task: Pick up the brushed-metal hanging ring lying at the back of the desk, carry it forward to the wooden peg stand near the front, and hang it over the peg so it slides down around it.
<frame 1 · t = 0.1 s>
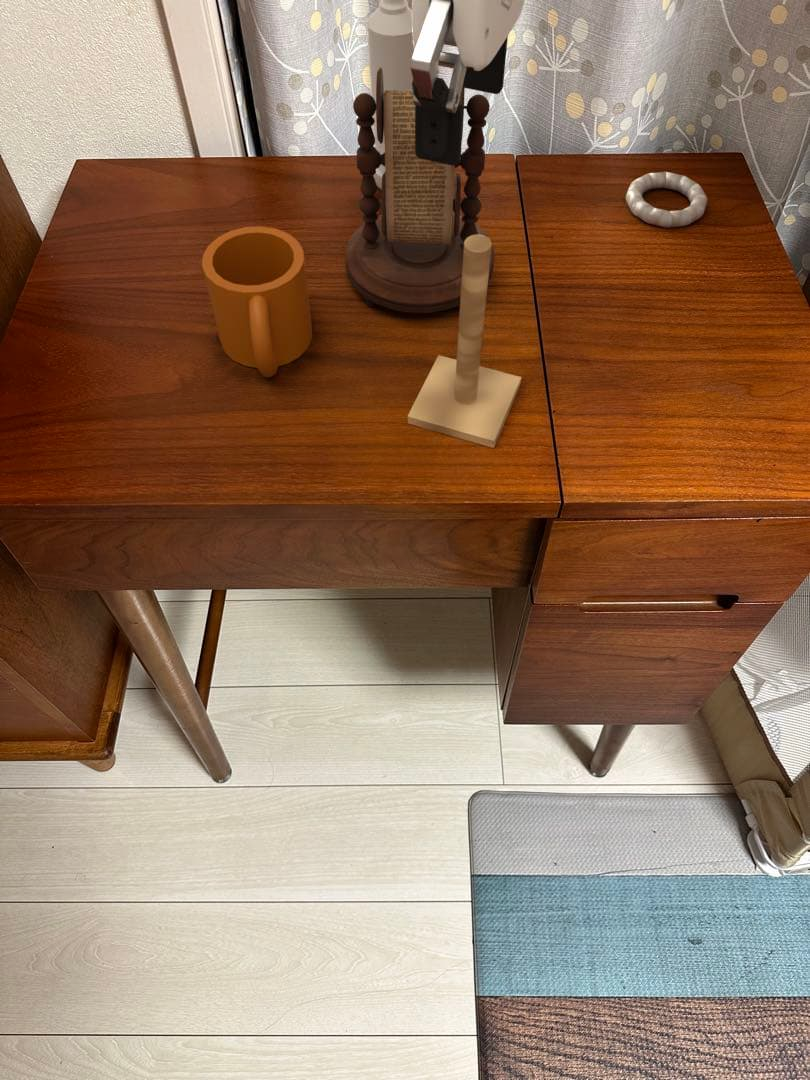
hand: (460, 123, 59), 21 cm above the table, tool pointing down, fingers open, 9 cm apart
ring: (666, 199, 87), point 1 cm above the table
bottle: (396, 182, 91), on the table
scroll: (419, 276, 82), on the table
mug: (265, 349, 77), on the table
wooden peg stand: (464, 403, 73), on the table
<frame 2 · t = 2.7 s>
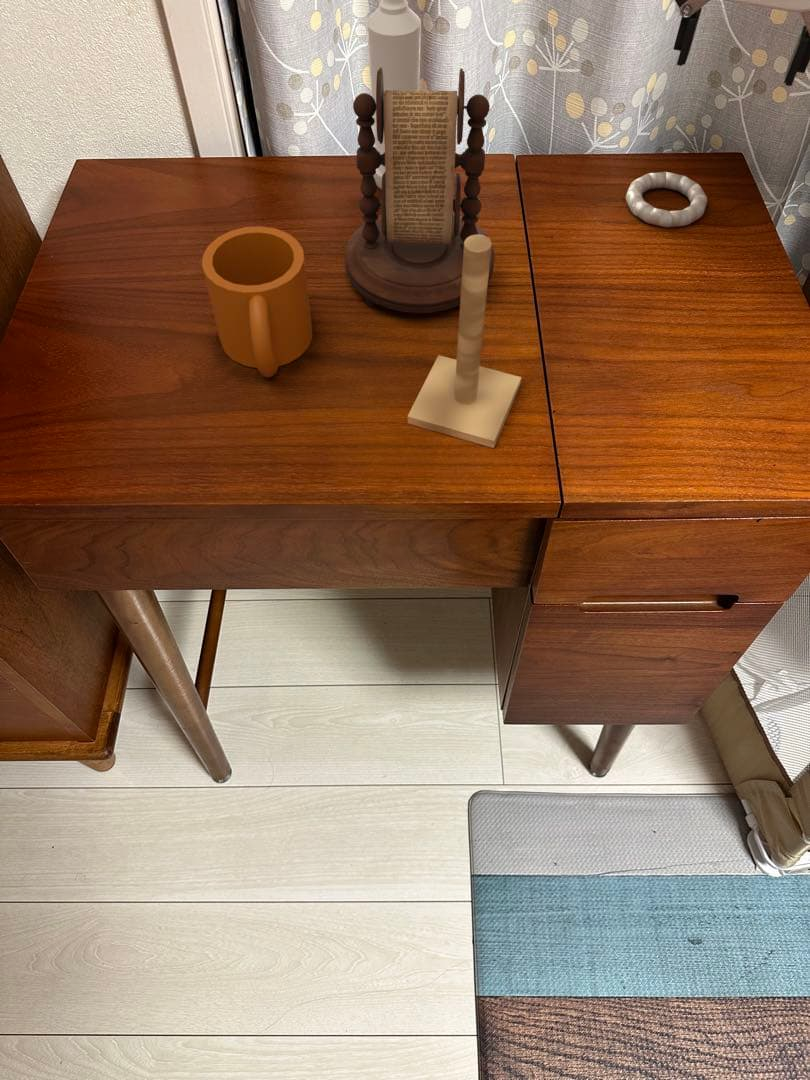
hand: (735, 68, 74), 15 cm above the table, tool pointing down, fingers open, 9 cm apart
nothing on the table moved.
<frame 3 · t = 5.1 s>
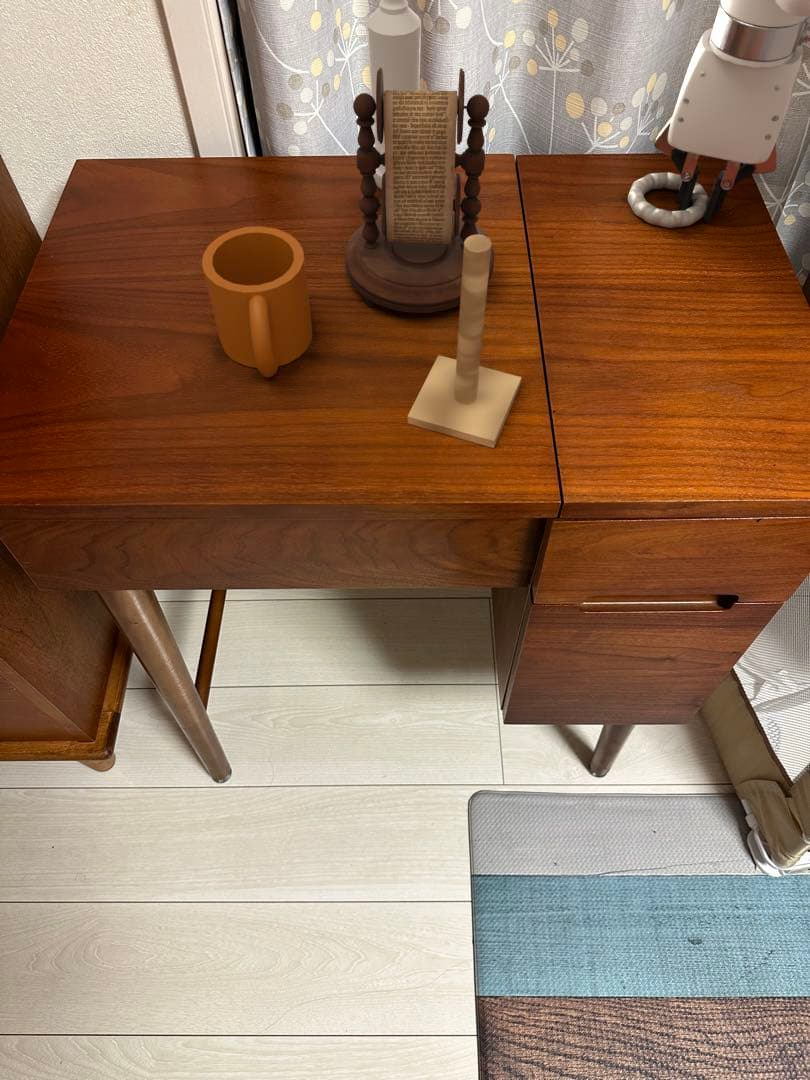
hand: (696, 211, 87), 0 cm above the table, tool pointing down, fingers closed on ring, 2 cm apart
ring: (668, 199, 87), point 1 cm above the table, touching gripper
everything else where it was.
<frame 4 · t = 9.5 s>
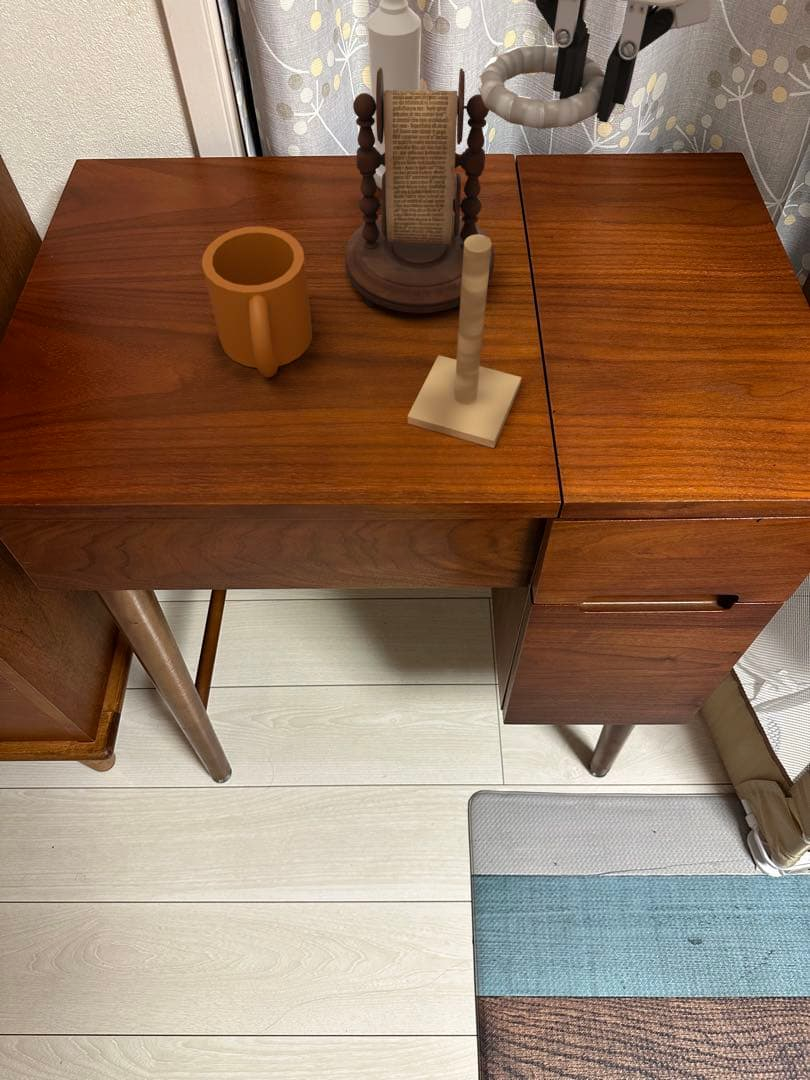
hand: (587, 105, 53), 25 cm above the table, tool pointing down, fingers closed on ring
ring: (542, 85, 54), point 26 cm above the table, touching gripper
everything else where it was.
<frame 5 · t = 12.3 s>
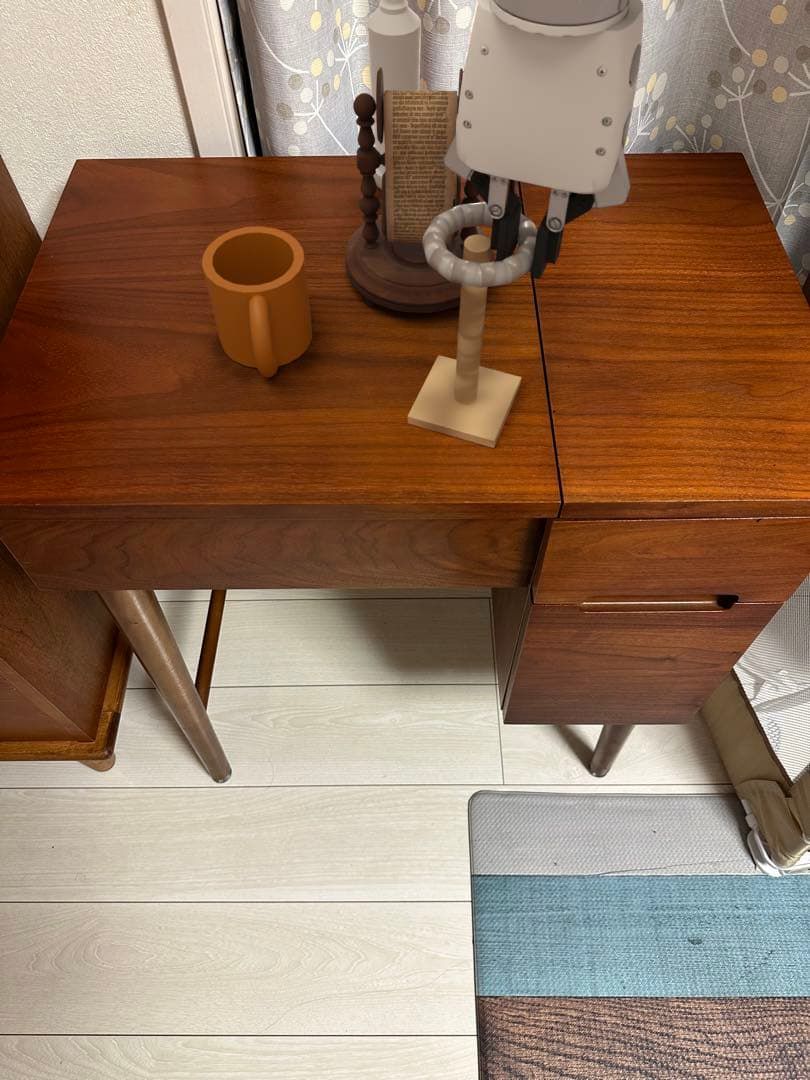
hand: (523, 260, 58), 16 cm above the table, tool pointing down, fingers closed on ring
ring: (481, 243, 58), point 17 cm above the table, touching gripper
everything else where it was.
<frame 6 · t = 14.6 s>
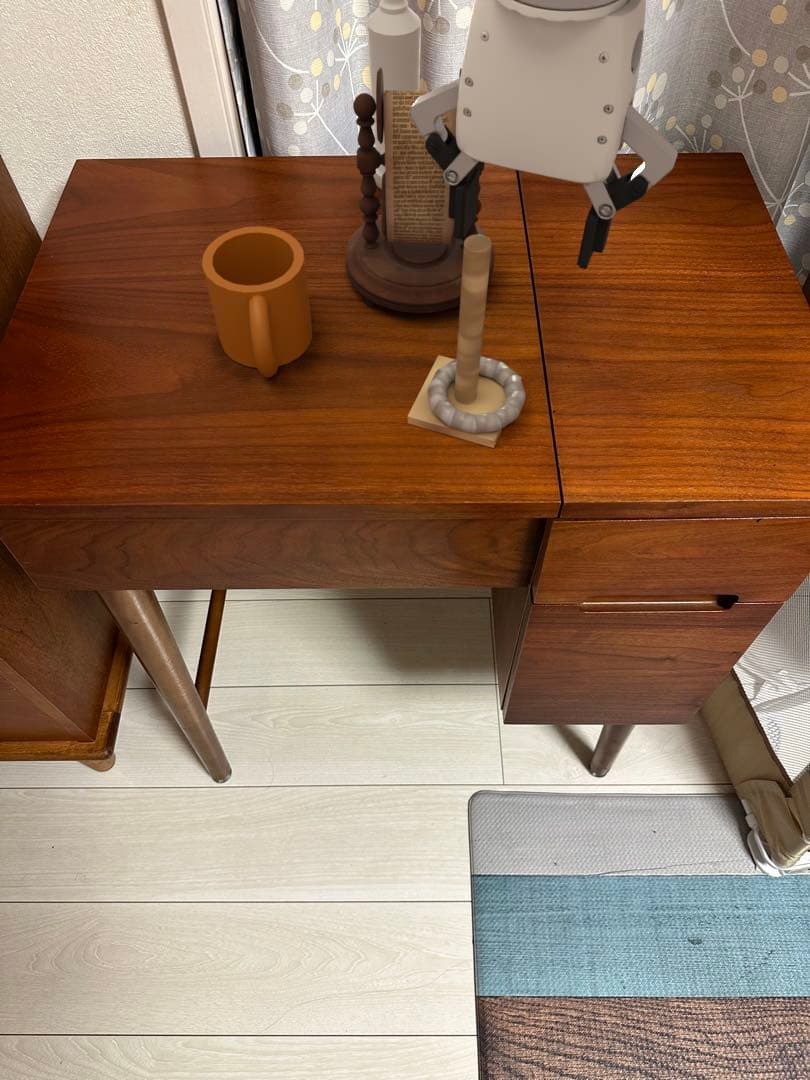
hand: (524, 240, 57), 18 cm above the table, tool pointing down, fingers open, 8 cm apart
ring: (476, 393, 71), point 2 cm above the table, touching wooden peg stand
everything else where it was.
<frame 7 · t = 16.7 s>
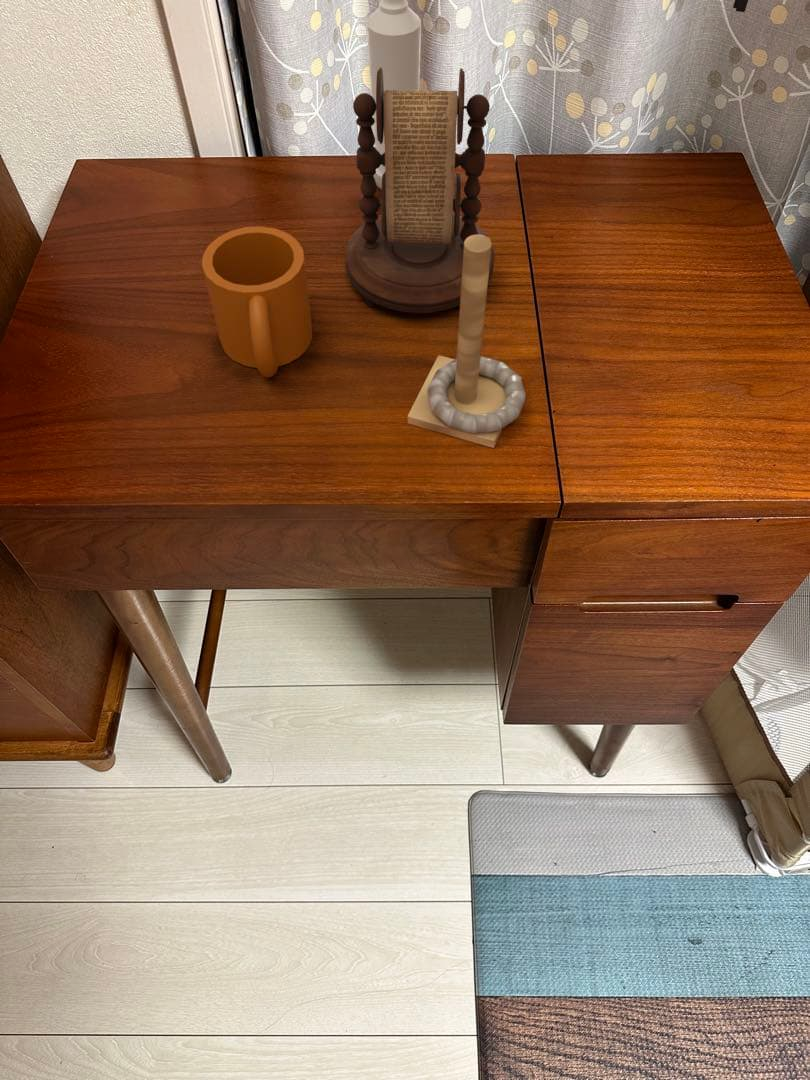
nothing on the table moved.
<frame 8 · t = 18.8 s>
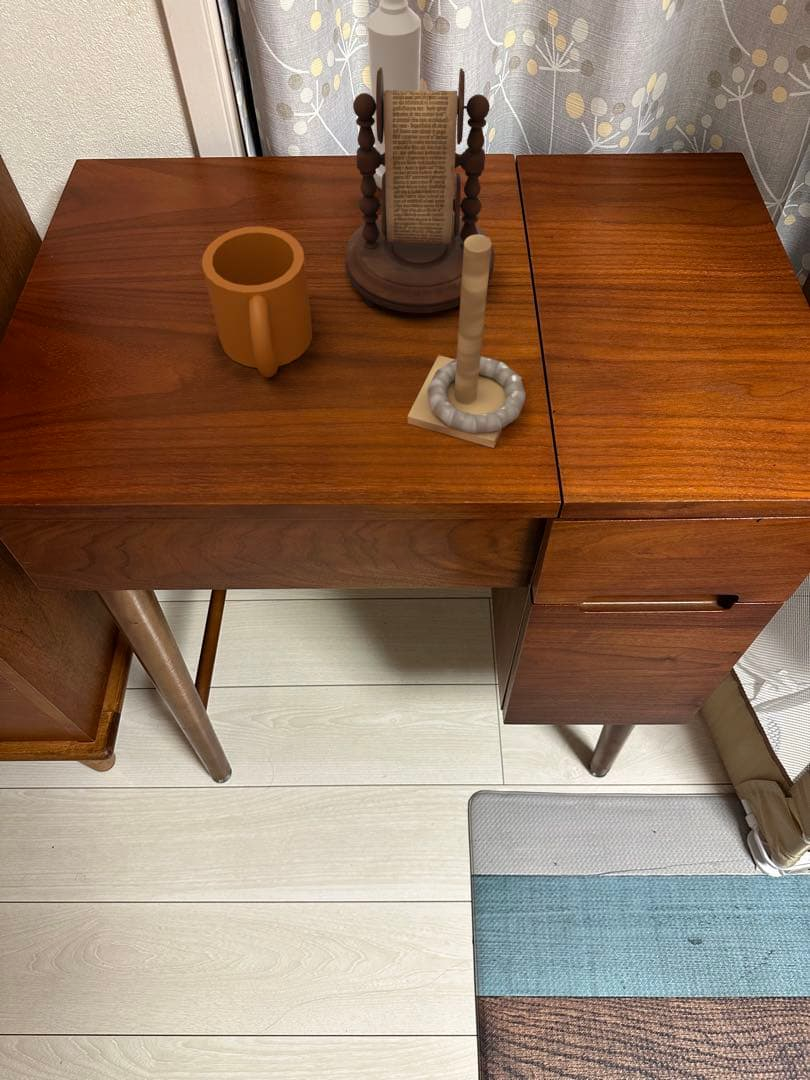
nothing on the table moved.
at the end: ring 1.0 cm from the wooden peg stand (horizontally); ring point 1.8 cm above the table; the gripper is holding nothing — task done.
